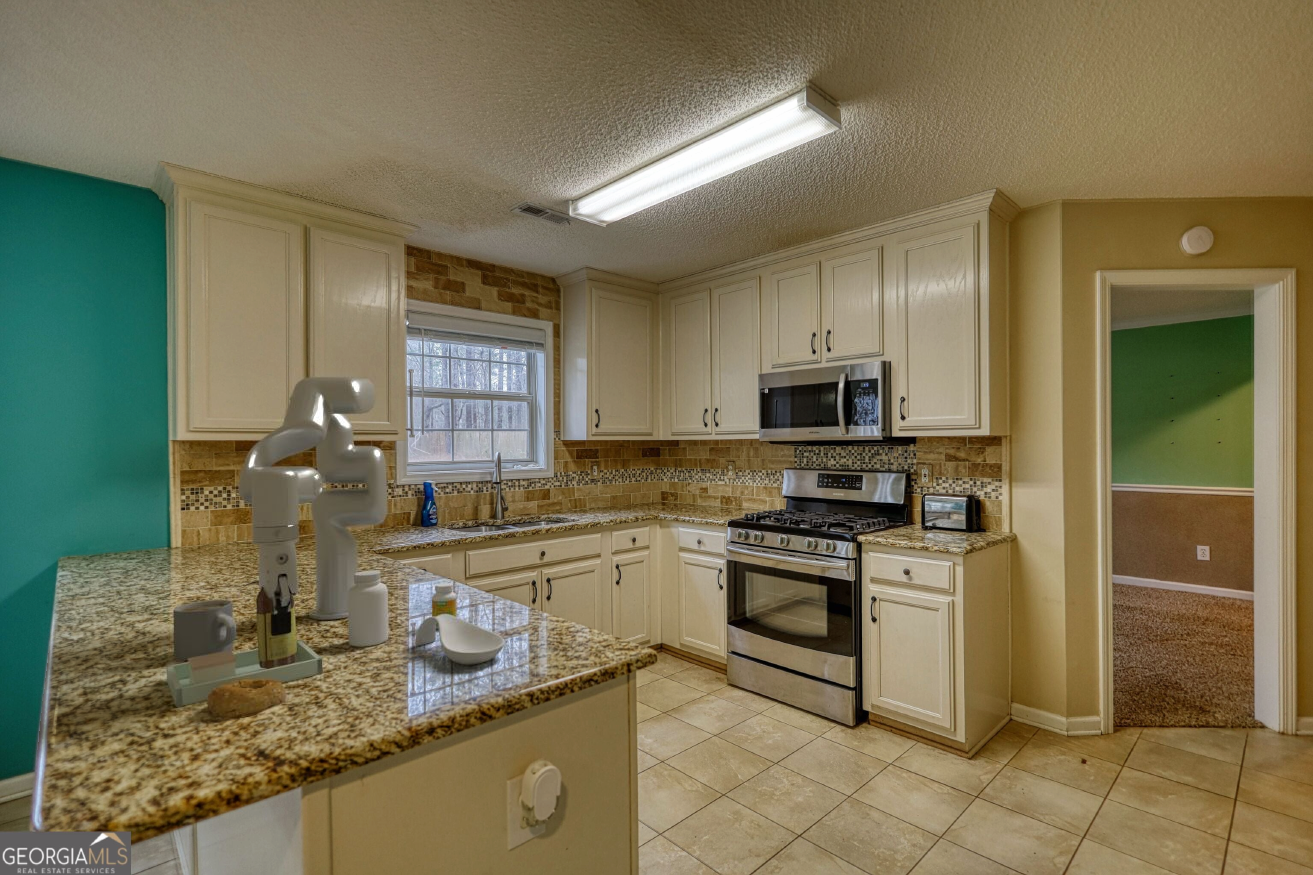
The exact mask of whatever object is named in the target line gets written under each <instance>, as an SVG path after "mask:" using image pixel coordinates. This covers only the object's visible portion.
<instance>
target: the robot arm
mask: <svg viewBox="0 0 1313 875" xmlns="http://www.w3.org/2000/svg"><path fill="white" fill-rule="evenodd" d="M376 393H377V392H376V388H375V385H374V384H373V382H372V381H371V380H370V379H368V378H364V377H363V378H361V377H357V378H356V377H349V376H347V377H346V376H311V377H305V378H302V379H300V380H299V381H298V382H297V383H296V384H295V386H294V388H293V391H292V394H291V397H290V400H289V404H288V406H287V410H286V414H285V415H284V419H283V423H282V425H281V426H280V427H277V428H276V429H274V430H272V431H271V432H270V433H268V434H267V435H265V436H264V437H263V438H262V439H260V440H259V441H258V442H256V443H255V444H254V445H253V446H252V447H251V449H250V450H249V451H248V453H247V455H246V458H245V460H244V464H243V465H242V468H241V472H240V476H239V480H238V488H237V489H238V494H239V496H240V498H241V500H242V501H243V502H245V503H246V504H249V505H251V520H252V521H251V525H252V530H251V533H252V534H251V537H252V542H251V543H252V545H253V546H258V588H259V591H260V590H261V588H262V586H263V588H264V591H265V593H266V596H267V597H269V598H271V600H272V610H273V614H271V635H272V636H277V635H283V634H288V633H291V604H290V593H291V594H292V596H297V595H298V594H299V576H298V563H297V562H298V561H297V560H298V559H297V558H298V557H297V551H296V544H295V543H297V542H299V540H300V527H299V525H300V524H299V520H300V519H299V518H300V517H299V516H300V515H299V504H300V505H302V504H304V505H305V504H309V503H311V504H310V510H311V515H312V521H313V526H314V536H315V592H316V593H315V595H316V596H315V598H316V599H315V600H316V607H315V608H313V609H311V611H309V615H308V616H309V618H310V619H312V620H316V621H317V620H318V621H319V620H320V621H327V620H328V621H329V620H331V621H332V620H340V619H345V618H348V591H349V589H350V588H351V587H353V586H355V585H356V584H355V583H354V582H355V581H354V574H355V573H358V572H359V564H358V563H359V562H358V560H359V559H358V554H359V552H358V551H359V549H358V548H359V546H358V541H357V539H356V537H355V536H354V535H353V533H352V532H351V530H349V529H348V528H347V527H362V526H363V527H364V526H377V525H380V524H382V523H384V521H385V520H386V518H387V514H388V487H387V486H388V485H387V483H388V482H387V462H386V456H385V455H384V452H383V450H382V449H381V448H379V447H378V446H374V445H355V444H354V443H355V442H354V428H353V424H352V422H351V421H350V420H349V419H348V417H347V416H346V415H361V414H367V413H369V412H371V410H373V408H374V406H375V404H376V400H377V399H376V397H377V394H376ZM312 448H315V451H316V452H315V453H316V454H315V455H316V458H315V459H316V469H315V468H314V467H311V466H302V465H301V466H297V465H296V466H294V465H293V466H285V465H284V466H273V465H274V464H275V463H277V462H279V461H281V460H283V459H285V458H288V457H290V456H294V455H297V454H300V453H302V452H305V451H307V450H310V449H312ZM323 483H325V484H331V485H333V484H334V485H335V484H336V485H337V484H340V485H341V484H343V485H345V484H363V485H364V486H365V487H366V488H364V487H363V488H331V489H325V490H323V486H324V484H323ZM281 557H282V559H280V558H281ZM274 591H275V592H274ZM289 592H290V593H289ZM278 593H280V596H275V594H278ZM276 600H280V601H278V603H276Z"/></svg>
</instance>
